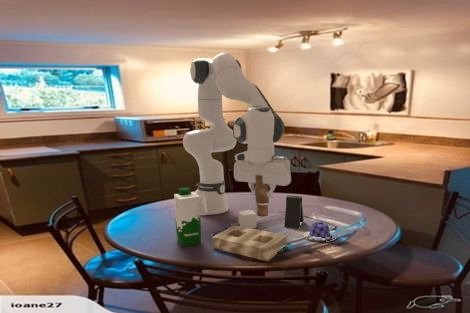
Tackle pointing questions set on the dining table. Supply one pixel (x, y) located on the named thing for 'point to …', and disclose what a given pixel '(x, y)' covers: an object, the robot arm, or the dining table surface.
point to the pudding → (319, 230)
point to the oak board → (249, 242)
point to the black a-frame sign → (293, 212)
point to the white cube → (247, 218)
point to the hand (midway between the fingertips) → (262, 196)
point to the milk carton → (187, 217)
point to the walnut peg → (261, 196)
